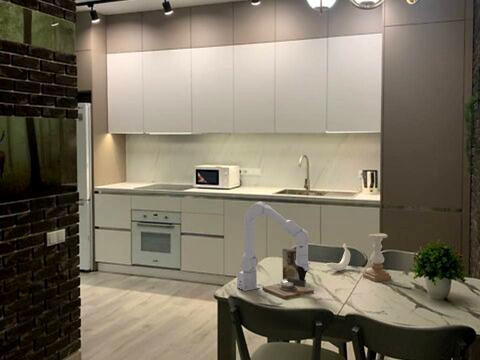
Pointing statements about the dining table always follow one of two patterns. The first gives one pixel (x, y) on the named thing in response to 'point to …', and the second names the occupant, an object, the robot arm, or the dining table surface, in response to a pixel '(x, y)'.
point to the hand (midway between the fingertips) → (302, 281)
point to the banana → (343, 263)
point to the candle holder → (377, 260)
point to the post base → (287, 291)
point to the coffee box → (289, 264)
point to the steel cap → (292, 283)
